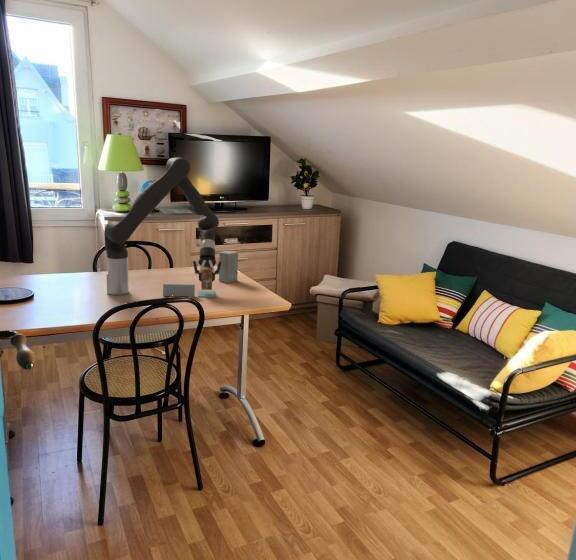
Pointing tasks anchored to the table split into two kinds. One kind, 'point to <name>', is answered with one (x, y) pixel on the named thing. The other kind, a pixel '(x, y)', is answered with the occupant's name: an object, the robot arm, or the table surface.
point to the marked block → (206, 278)
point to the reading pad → (206, 294)
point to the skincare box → (228, 266)
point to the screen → (179, 290)
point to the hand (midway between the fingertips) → (206, 280)
